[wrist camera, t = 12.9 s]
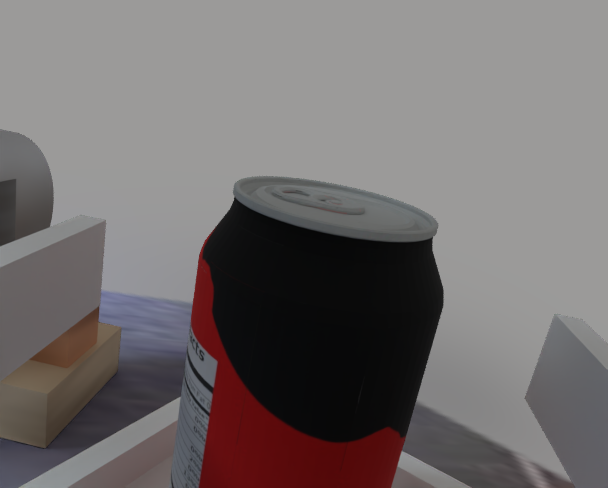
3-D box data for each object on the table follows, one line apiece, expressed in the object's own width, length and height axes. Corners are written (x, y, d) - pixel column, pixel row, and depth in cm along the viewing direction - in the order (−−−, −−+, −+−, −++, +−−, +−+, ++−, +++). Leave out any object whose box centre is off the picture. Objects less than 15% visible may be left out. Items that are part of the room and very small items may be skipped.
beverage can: (338, 719, 12) (473, 266, 9) (113, 621, 13) (157, 189, 10) (370, 524, 18) (458, 207, 15) (212, 468, 19) (260, 163, 16)
